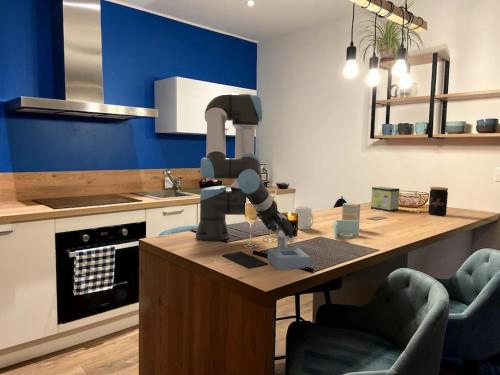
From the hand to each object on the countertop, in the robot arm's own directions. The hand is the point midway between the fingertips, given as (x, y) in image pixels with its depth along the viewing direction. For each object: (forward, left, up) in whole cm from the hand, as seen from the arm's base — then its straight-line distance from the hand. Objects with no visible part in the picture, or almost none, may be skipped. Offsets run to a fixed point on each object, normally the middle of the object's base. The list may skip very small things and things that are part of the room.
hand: (287, 239), depth 155 cm
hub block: (-5, -15, -5) cm, 17 cm away
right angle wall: (+37, +21, -6) cm, 43 cm away
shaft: (-3, -2, -4) cm, 5 cm away
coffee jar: (+127, +71, -5) cm, 145 cm away
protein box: (+102, +93, -5) cm, 138 cm away
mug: (+23, +41, -5) cm, 47 cm away
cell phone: (-20, -9, -5) cm, 22 cm away
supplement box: (+48, +39, -5) cm, 62 cm away
